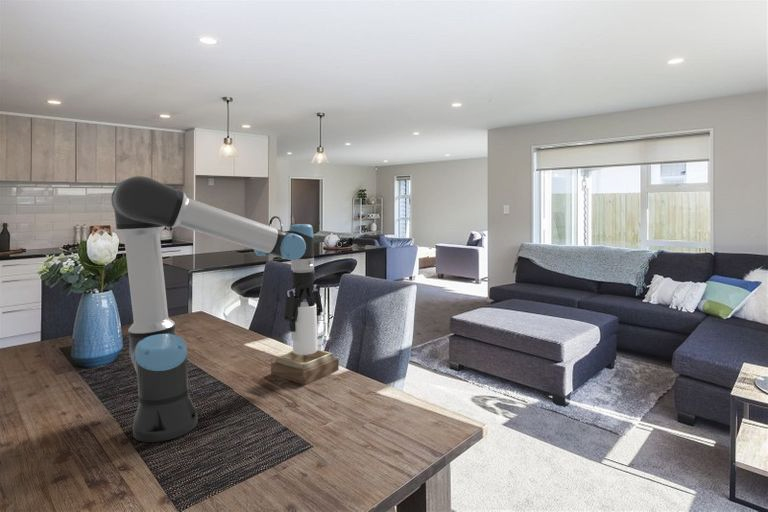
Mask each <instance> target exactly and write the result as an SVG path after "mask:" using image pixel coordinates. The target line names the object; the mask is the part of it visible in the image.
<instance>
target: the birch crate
mask: <svg viewBox="0 0 768 512" xmlns="http://www.w3.org/2000/svg"><path fill="white" fill-rule="evenodd" d="M333 357H334V353H333V352H329V351H325V350H321V349H318V348H317V352H315V353H313V354H308V355H298V354H295V353H293V350H291V351H288V352H285V353H282V354H280V355H276V358H275V359H276V360H275V361H276V363H279V364H283V365H286V366H289V367H293V368H296V369H299V370H303V371H306V370H308V369H311V368H313V367H316V366H318V365H321V364H323V363H325V362H328V361H330V360H333Z"/></svg>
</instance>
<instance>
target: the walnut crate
mask: <svg viewBox="0 0 768 512" xmlns="http://www.w3.org/2000/svg"><path fill="white" fill-rule="evenodd" d="M339 362H340V361H339V358H338V357H335V356H333V360H330V361H328V362H325V363H323V364H321V365H318V366H316V367H313V368H311V369H308V370H306V371H303V370H299V369H296V368H293V367H289V366H286V365H283V364H279V363H276V360H274V361H272V362H270V374H271V376H276V377H279V378H282V379H284V380H288V381H291V382H294V383H297V384H301V385H303V386H306V385H308V384H311V383H313V382H315V381H317V380H320V379H321V378H323V377H326V376H329V375H331V374H333V373H335V372H337V371H339V370H340V369H339V367H340V365H339Z"/></svg>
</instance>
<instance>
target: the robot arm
mask: <svg viewBox="0 0 768 512" xmlns="http://www.w3.org/2000/svg"><path fill="white" fill-rule="evenodd" d="M110 201H111V206H112V208H113V211H114V218H115V226H116V227H115V230H116V231H117V232H119V233H120V234H121V235H122V236H123V239H124V248H125V257H126V267H127V274H128V283H129V291H130V292H129V293H130V300H131V301H130V302H131V309H132V310H131V311H132V318H133V323H132V324H131V325H130V326H129V328H128V330H127V331H128V340H129V341H128V342H129V349H128V353H129V358H130V361H131V362H132V365H133V367H134V369H135V373H136V379H137V380H136V381H137V393H138V394H137V395H138V405H137V407H136V408H137V410H136V411H135V415H134V419H133V422H132V436H133V438H134V439H135V440H137V441H140V442H142V443H143V442H145V443H158V442H165V441H169V440H174V439H176V438H179V437H182V436H184V435H186V434H188V433H189V432H191V431H192V430H194V429H196V427H197V425H198V412H197V410H196V408H195V405H194V403H193V400H192V398H191V396H190V392H189V391H190V390H189V372H188V370H189V369H188V347H187V344H186V341H185V338H183V337H182V336H181V335H178V334H177V332H176V323H175V321H174V320H172V319H171V318H170V317H169V312H168V303H167V302H168V301H167V294H166V293H167V292H166V283H165V282H166V281H165V274H164V264H163V254H162V253H163V252H162V244H161V243H162V242H161V235H160V234H161V233H162V231H163V230H164V229H165V228H166V227H168V228H171V229H173V228H175V227H181V228H184V229H187V230H191V231H194V232H197V233H201V234H203V235H206V236H207V235H208V236H211V237H215V238H216V239H221V240H223V241H227V242H230V243H233V244H237V245H239V246H240V245H241V246H243V247H247V248H249V249H253V252H254V253H255V255H256V256H258V257H268V256H273V257H275V258H276V257H277V258H281V259H284V260H289V261H290V269H291V271H292V272H291V283H292V289H290V290H288V289H287V290H285V296H286V297H285V299H286V300H285V306H284V307H285V308H284V316H283V320H284V321H286V322H288V323H289V331H290V334H291V335H290V340H291V341H292V342H293V341H299V332H298V322H297V321H296V319H297V316H298V307H300V305H301V302H304V300H306V302H307V303H308V305H309V307H311V306H314V303H316V312H317V336H318V335H319V332H318V331H319V330H318V329H319V326H318V324H319V317H320V316H321V314H322V313H323V311H324V310H323V305H322V303H323V302H322V296H321V285H319V284H314V283H315V271H314V270H315V256H314V255H315V252H314V250H315V249H314V244H315V243H314V239H315V237H314V228H313V226H312V225H311V224H308V223H307V224H306V223H302V224H301V223H300V224H299V223H296V224H291V225H290V226H289V230H285V231H284V230H282V229H278V228H275V227H274V226H270V225H267V224H264V223H262V222H258V221H256V220H253V219H250V218H246V217H244V216H241V215H239V214H235V213H232V212H229V211H227V210H225V209H224V210H223V209H221V208H218V207H215V206H212V205H210V204H207V203H203V202H202V201H197V200H195V199H193V198H189V197H187V195H186V192H183V191H181V190H179V189H176V188H173V187H171V186H168V185H167V184H164V183H162V182H160V181H158V180H156V179H153V178H152V177H148V176H144V175H143V176H142V175H138V176H132V177H129V178H126V179H124V180H122V181H120V182H119V183H118V184H117V185H116V186H114V188H113V191H112V193H111V200H110Z"/></svg>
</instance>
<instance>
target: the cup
mask: <svg viewBox="0 0 768 512" xmlns="http://www.w3.org/2000/svg"><path fill="white" fill-rule="evenodd" d="M296 321H297V322H298V332H299V341H293V340H292V351H293V353H295V354H298V355H308V354H313V353H315V352H317V349H318V335H317V312H316V303H314V306H311V307H309V305H308V303H307V301H303V302H301V305H300V307H298V316H297V319H296Z"/></svg>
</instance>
